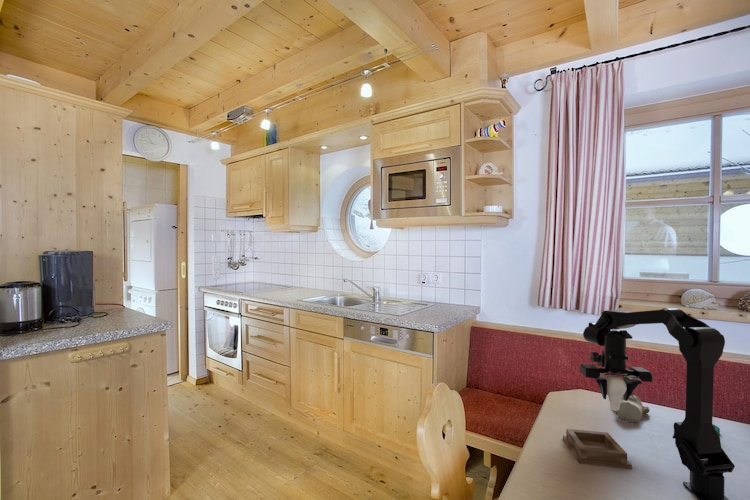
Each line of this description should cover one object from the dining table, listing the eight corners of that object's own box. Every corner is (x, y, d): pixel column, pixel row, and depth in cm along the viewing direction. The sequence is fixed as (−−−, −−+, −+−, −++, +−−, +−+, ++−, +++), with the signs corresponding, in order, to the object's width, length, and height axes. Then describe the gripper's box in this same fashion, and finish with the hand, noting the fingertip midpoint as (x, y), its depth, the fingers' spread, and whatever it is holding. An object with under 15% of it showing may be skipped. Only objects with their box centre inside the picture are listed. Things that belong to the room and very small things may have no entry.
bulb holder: (631, 468, 94) (631, 455, 94) (578, 463, 97) (579, 450, 97) (608, 442, 107) (609, 431, 107) (562, 438, 110) (562, 427, 110)
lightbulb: (598, 408, 112) (599, 374, 112) (610, 405, 115) (610, 371, 115) (618, 416, 107) (619, 380, 107) (630, 413, 109) (631, 377, 109)
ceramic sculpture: (609, 393, 123) (615, 383, 134) (608, 418, 123) (614, 406, 134) (648, 402, 116) (650, 391, 127) (647, 429, 116) (650, 415, 127)
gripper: (634, 345, 117) (634, 392, 117) (573, 342, 121) (573, 387, 120) (654, 354, 106) (654, 406, 106) (586, 351, 110) (586, 401, 110)
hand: (614, 399), depth 111 cm, fingers closed on lightbulb, 5 cm apart
